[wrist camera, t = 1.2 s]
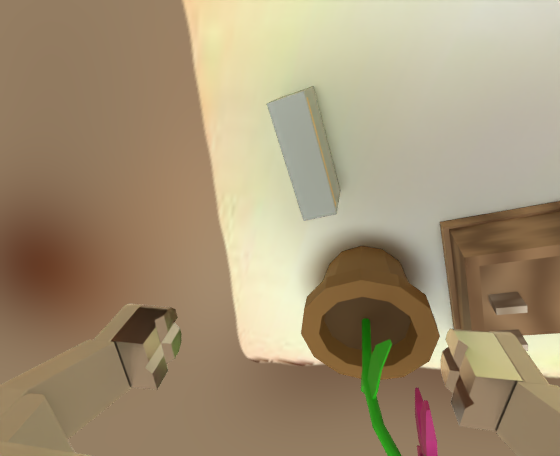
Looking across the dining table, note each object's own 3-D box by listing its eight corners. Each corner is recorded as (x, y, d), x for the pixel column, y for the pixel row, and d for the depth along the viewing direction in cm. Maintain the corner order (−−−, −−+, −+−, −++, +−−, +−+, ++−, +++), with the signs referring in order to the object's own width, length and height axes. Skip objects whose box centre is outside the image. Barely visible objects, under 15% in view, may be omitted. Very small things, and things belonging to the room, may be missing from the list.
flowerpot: (422, 319, 44) (515, 694, 18) (319, 319, 48) (272, 624, 22) (421, 227, 38) (560, 588, 12) (304, 235, 42) (214, 518, 16)
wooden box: (666, 182, 30) (750, 214, 24) (644, 317, 37) (705, 372, 30) (439, 222, 37) (457, 255, 30) (454, 331, 43) (470, 378, 37)
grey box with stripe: (282, 96, 35) (266, 103, 29) (314, 86, 33) (304, 90, 27) (311, 196, 39) (303, 220, 33) (340, 190, 38) (337, 214, 32)
